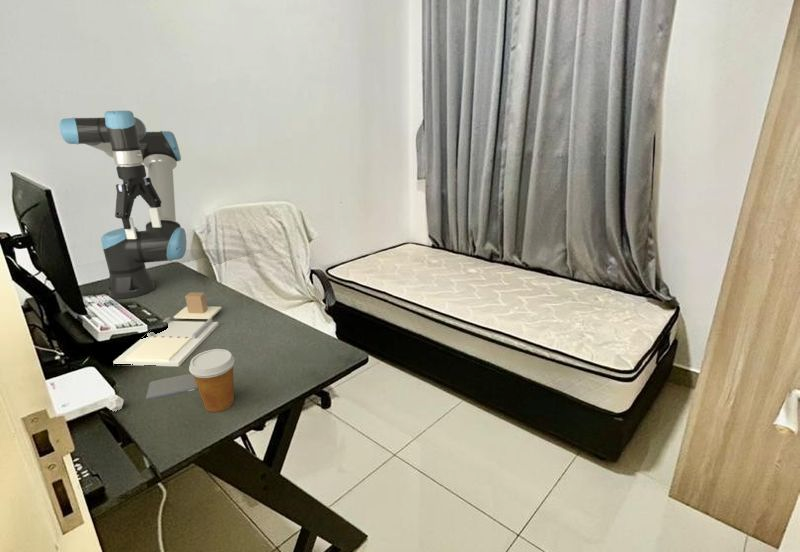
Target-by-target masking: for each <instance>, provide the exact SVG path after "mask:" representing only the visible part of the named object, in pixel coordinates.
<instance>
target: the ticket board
mask: <svg viewBox="0 0 800 552" xmlns="http://www.w3.org/2000/svg"><path fill="white" fill-rule="evenodd" d="M162 321H163V322H167V323H168V328H167V329H166V330H164V331H162V332H160V333H157V334H155V333H154V332H150V331H149V332H150V333H149V332H147V333H146V334H147V336H148V337H146V338H143V337H142V338H143V339H141V338H140V339H139V340H137V341H136V342H135V343H134V344H132V345H131V346H130V347H129V348H127V349H126V350H125V351H124V352H123V353H122V354H121V355H119V356H118V357H117V358H115V359H114V360H113V361H112V362H113V365H114V364H131V365H130V366H144V365H156V366H155V367H181V364H182V363H184V362H185V360H186V359H187V358H188V357H190V355H191V354H193V352H194V351H195V350H196V349H197V348H198V347H199V346H200V345H201V344H202V343H203V342H204V341H206V339H207V338H208V337H209V336H210V335H211V333H213V331H214V330H216V328H217V327H218V326H219V325H220V324H219V321H213V317H212V318H209V319H206V321H182V320H181V321H180V320H176V321H175V320H171V317H166V318H165V319H164V320H162ZM132 364H133V365H132Z"/></svg>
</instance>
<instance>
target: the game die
mask: <svg viewBox="0 0 800 552" xmlns="http://www.w3.org/2000/svg"><path fill="white" fill-rule="evenodd" d="M124 401H125V400H124V399H123V398H122V397H120V396H119V395H118V394H115V395H112V396H109V397H108V400H107V402H106V406H105V408H107V409H109V410H110V411H111V410H112V412H114V411H115V412H118V411H119V410H120V409H121V410H122V408H123V405H124ZM117 410H118V411H117ZM115 412H114V413H115Z"/></svg>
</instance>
